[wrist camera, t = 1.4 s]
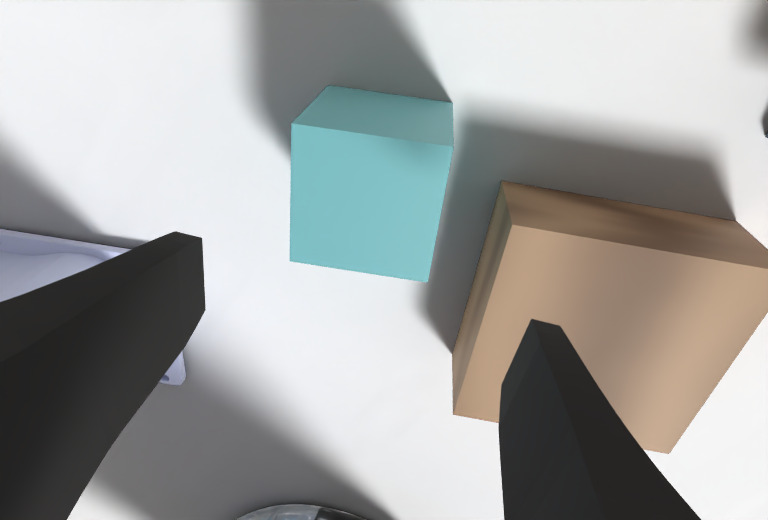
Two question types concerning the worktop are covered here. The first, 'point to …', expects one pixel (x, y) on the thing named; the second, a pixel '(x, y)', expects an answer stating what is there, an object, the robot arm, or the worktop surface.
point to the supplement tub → (298, 513)
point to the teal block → (369, 181)
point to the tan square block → (612, 303)
